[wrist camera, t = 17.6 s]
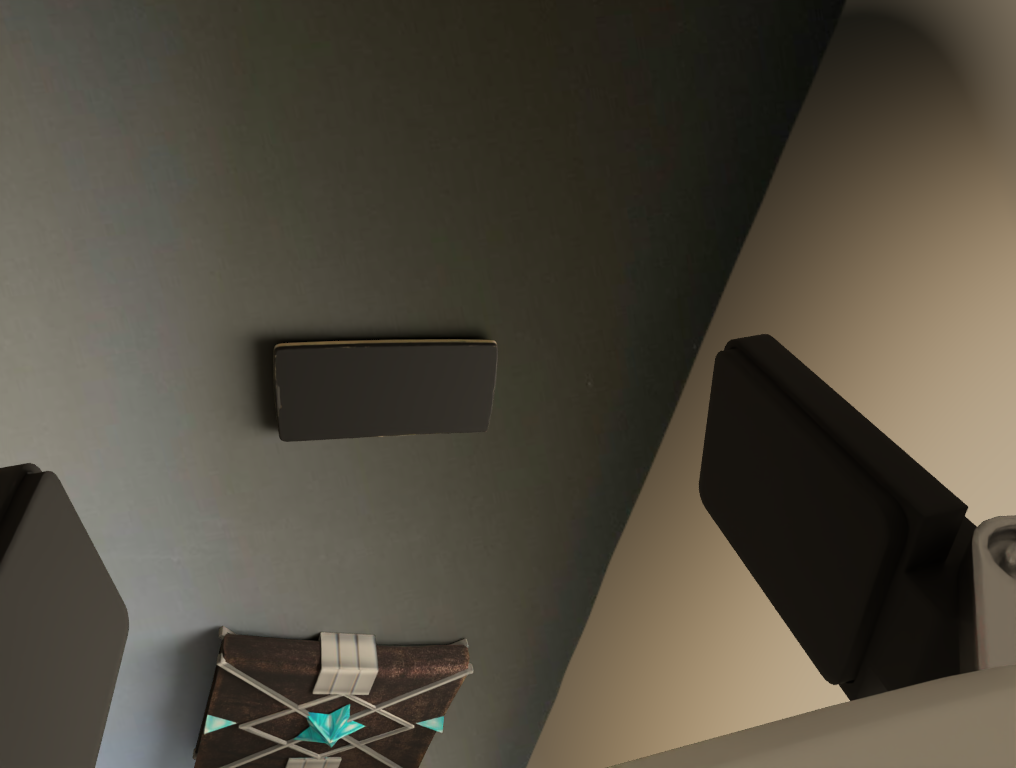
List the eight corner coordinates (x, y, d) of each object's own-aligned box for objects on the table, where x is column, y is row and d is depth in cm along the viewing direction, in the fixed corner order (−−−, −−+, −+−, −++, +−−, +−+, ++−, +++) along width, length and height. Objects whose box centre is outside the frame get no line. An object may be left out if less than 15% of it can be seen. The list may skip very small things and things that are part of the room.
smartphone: (490, 432, 52) (277, 443, 48) (487, 423, 53) (277, 433, 49) (501, 344, 48) (270, 348, 44) (497, 336, 49) (271, 340, 45)
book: (467, 636, 66) (478, 683, 62) (414, 746, 73) (420, 795, 69) (220, 623, 57) (214, 676, 53) (187, 749, 65) (180, 804, 61)
